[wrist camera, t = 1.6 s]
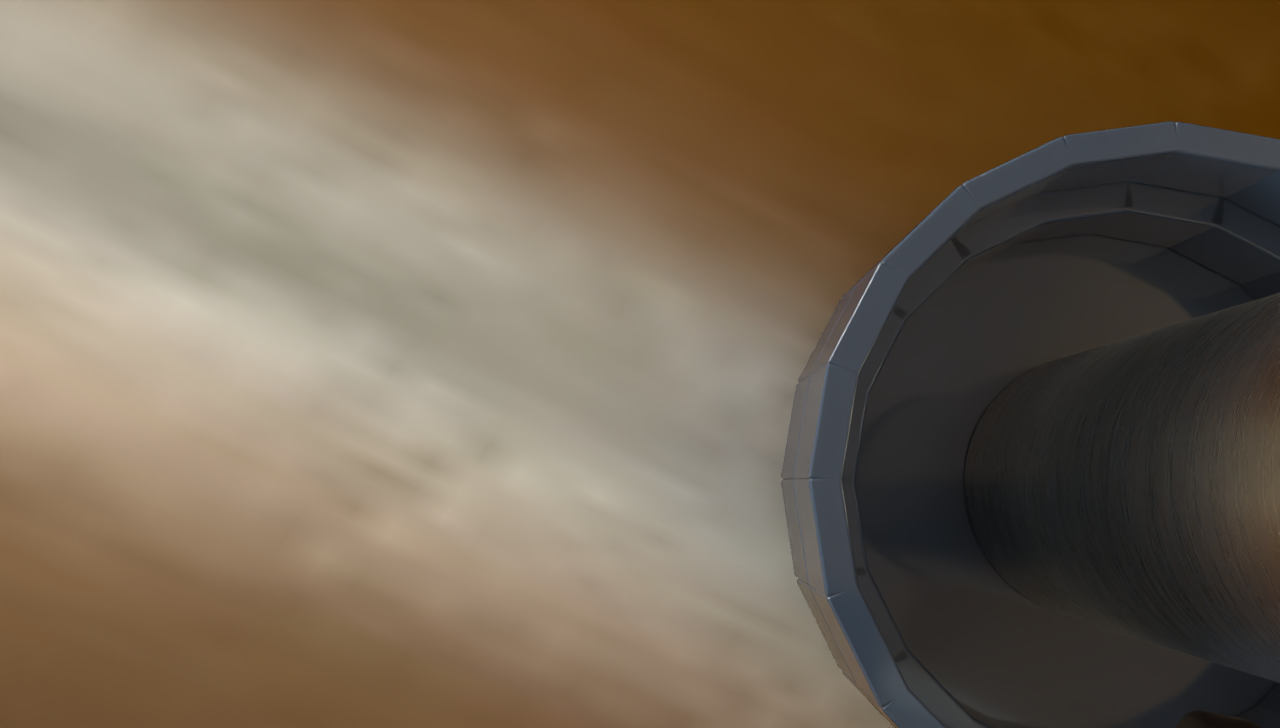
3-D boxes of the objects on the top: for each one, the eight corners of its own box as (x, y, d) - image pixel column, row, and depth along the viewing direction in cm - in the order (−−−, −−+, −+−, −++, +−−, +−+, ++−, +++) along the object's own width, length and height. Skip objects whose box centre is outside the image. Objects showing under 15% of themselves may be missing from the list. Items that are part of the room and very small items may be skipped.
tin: (1160, 676, 22) (1874, 942, 9) (911, 542, 23) (1270, 620, 10) (1276, 431, 23) (2101, 361, 10) (1031, 303, 23) (1523, 76, 10)
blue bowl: (1231, 918, 22) (1379, 1027, 18) (673, 611, 23) (680, 641, 19) (1484, 364, 24) (1680, 336, 19) (947, 90, 24) (1016, 1, 20)
